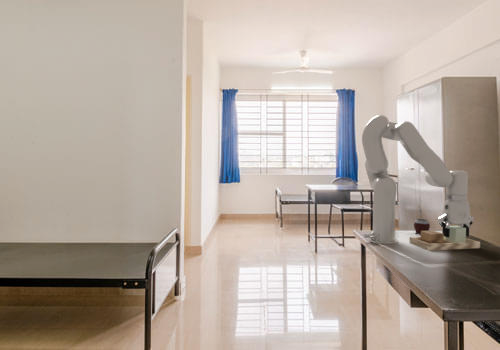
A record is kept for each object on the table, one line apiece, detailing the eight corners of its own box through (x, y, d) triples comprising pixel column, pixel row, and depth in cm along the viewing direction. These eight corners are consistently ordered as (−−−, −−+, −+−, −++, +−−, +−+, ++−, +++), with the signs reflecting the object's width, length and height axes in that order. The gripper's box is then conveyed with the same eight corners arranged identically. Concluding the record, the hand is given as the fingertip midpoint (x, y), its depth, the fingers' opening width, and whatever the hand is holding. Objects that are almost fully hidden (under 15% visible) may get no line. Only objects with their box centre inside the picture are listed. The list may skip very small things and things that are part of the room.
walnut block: (430, 247, 119) (431, 234, 119) (420, 244, 125) (420, 230, 125) (443, 247, 120) (443, 233, 120) (432, 243, 126) (432, 230, 126)
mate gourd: (424, 237, 141) (425, 208, 141) (409, 234, 148) (409, 206, 148) (432, 235, 145) (433, 207, 144) (417, 232, 152) (418, 205, 151)
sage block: (455, 246, 122) (455, 228, 121) (445, 243, 127) (446, 225, 126) (465, 246, 122) (466, 228, 122) (455, 242, 127) (456, 225, 127)
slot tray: (428, 252, 116) (429, 244, 116) (409, 244, 128) (409, 237, 128) (480, 250, 120) (480, 242, 120) (456, 242, 131) (456, 235, 131)
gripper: (446, 199, 119) (445, 239, 119) (481, 198, 121) (480, 237, 122) (432, 197, 126) (431, 234, 127) (466, 197, 129) (465, 233, 129)
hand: (455, 236), depth 124 cm, fingers open, 9 cm apart
